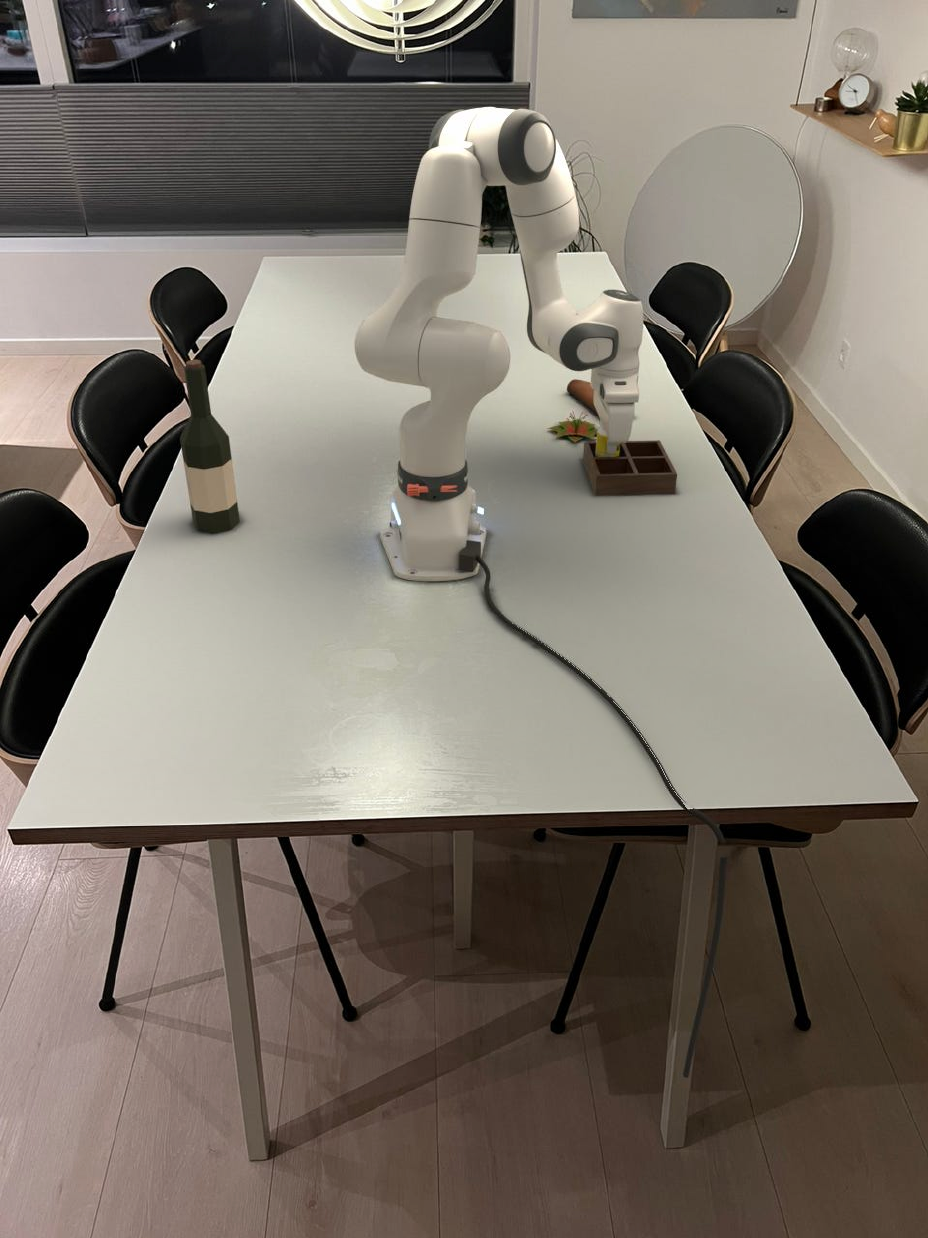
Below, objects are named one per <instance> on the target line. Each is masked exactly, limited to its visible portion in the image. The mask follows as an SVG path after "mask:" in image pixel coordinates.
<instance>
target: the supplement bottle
mask: <svg viewBox="0 0 928 1238" xmlns="http://www.w3.org/2000/svg"><path fill="white" fill-rule="evenodd" d="M597 429H598V431H597V434H596V441H595V442H596V452H595V457H619V452H620V443H618V444H617V448H616V452H615V453H607V450H606V442H607V440H608V436H607V434H606V432H605V429H604V427H603V425H602V421H601V419H600V418H599V427H598V428H597Z"/></svg>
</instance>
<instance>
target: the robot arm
mask: <svg viewBox="0 0 928 1238" xmlns="http://www.w3.org/2000/svg"><path fill="white" fill-rule="evenodd" d="M428 141H429V142H428V150H427V151H426V152H425V153H424V155H423V156H422V158H421V159H420V162H419V166H418V170H417V172H416V178H415V180H414V181H415V182H414V185H413V190H412V196H411V203H410V210H409V218H408V229H407V237H406V246H405V250H404V252H405V253H404V258H403V264H402V268H401V272H400V275H399V278H398V281H397V283H396V285H395V287H394V289H393V291H392V292H391V294H390V295H389V297H388V298H387V299H386V301H385V302H384V303H383V304H382V305H381V306H380V307H378V308H377V309H376V310H375V311H373V312H372V313H371V314H369V315H368V316H366V317H365V318H364V319H363V320H362V322H361V323H360V325H359V327H358V329H357V331H356V333H355V338H354V354H355V358H356V360H357V362H358V365H359V366H360V368H361V370H362V371H364V373H367V374H368V375H371V376H373V377H376V378H379V379H382V380H385V381H387V382H390V383H391V382H392V383H398V384H403V385H411V386H417V387H423V388H425V389H426V388H427V389H429V392H430V399H429V400H427V401H423V402H421V403H418V404H416V405H414V406H412V407H411V408H409V409H408V410H407V411H406V412H405V413H404V414H403V416H402V417H401V419H400V422H399V425H398V429H399V432H398V433H399V461H398V462H397V469H396V475H397V484H398V485H397V486H396V487H395V488H394V489H393V490H392V491H391V492H390V493H389V495H390V496H389V497H390V499H389V501H390V502H389V503H390V521H389V526H387V527H384V528H382V529H381V530H380V534H379V539H380V541H381V542H382V546H383V549H384V551H385V553H386V556H387V559H388V561H389V564H390V567H391V569H392V572H393V574H394V575H395V576H396V577H397V578H400V579H403V580H408V581H414V582H415V581H417V582H449V581H456V580H457V581H458V580H462V579H467V578H470V577H474V576H476V575H477V574H478V573H479V571H480V566H481V568H482V570H483V571H484V573H485V580H484V584H483V585H484V586H483V591H484V597H485V599H486V603H487V604H488V606H489V608H490V609H491V610H492V612H493V614H495V615H496V616H497V617H498V618H499V619H500V620H501V622H503V623H504V624H505V625H506V626H508V627H509V628H511V629H512V630H514V631H515V632H516V633H518V634H520V635H522V636H523V637H525V638H526V639H528V640H529V641H531V642H532V643H533V644H535V645H537V646H538V647H539V648H541V649H542V650H543V651H545V652H546V653H548V654H549V655H551V656H552V657H554V658H555V659H556V660H558V661H559V662H560V663H562V664H564V665H565V666H566V667H567V668H569V669H570V670H572V671H573V672H574V673H575V674H577V676H579V678H582V679H583V680H584V681H585V682H586V683H587V684H589V686H591V687H592V688H593V690H595V691H596V692H597V693H598V694H599V695H600V696H602V698H603V699H605V701H607V703H608V704H609V705H610V706H611V707H612V708H613V709H614V710H615V711H616V713H617V714H618V715H619V716H620V717H621V719H622V720H623V721H624V722H625V723H626V725H627V726H628V727H629V729H630V730H631V731H632V733H633V735H634V736H635V737H636V739H637V740H638V741H639V743H640V744H641V746H642V747H643V749H644V751H645V752H646V754H647V755H648V757H649V759H650V760H651V762H652V763H653V765H654V766H655V768H656V770H657V772H658V774H659V777H660V778H661V781H663V784H664V786H665V787H666V790H667V791H668V792H669V794H670V795H671V797H672V798H673V800H674V801H675V802H676V804H678V805H679V806H680V807H681V808H682V809H683V810H684V811H685V812H686V813H688V814H689V815H692V816H694V817H696V818H697V819H699V820H700V821H702V822H703V823H705V824H706V825H707V826H708V827H709V828H710V829H711V831H712V832H713V834H714V835H715V837H716V839H717V841H718V843H719V844H722V845H723V844H726V839H725V836H724V834H723V832H722V830H721V828H720V827H719V826H718V825H717V823H716V822H715V821H714V820H713V819H712V818H711V817H710V816H709V815H707V814H705V813H703V812H702V811H700V810H698V809H696V808H695V807H693V809H690V810H688V809H687V808H686V807H685V805H684V804H683V802H682V801H681V799H682V800H683V801H684V802H685V803H687V801H685V800H684V799H683V798H682V797H681V795H680V794H679V792H678V791H677V790H676V788H675V787H674V785H673V782H671V780H670V777H669V776H668V774H667V772H666V770H665V768H664V766H663V764H662V763H661V760H660V759H659V758H658V756H657V755H656V753H655V752H654V750H653V749H652V747H651V746H650V744H649V743H648V741H647V739H646V737H645V736H644V735H643V734H642V732H641V731H640V729H639V728H638V727H637V725H636V724H635V723H634V721H633V720H632V719H631V717H630V716H629V715H628V714H627V713H626V711H625V710H624V709H623V708H622V707H621V706H620V705H619V703H617V701H615V699H614V698H613V697H612V696H611V695H610V694H609V693H608V692H607V691H606V690H605V689H604V688H603V687H602V686H601V685H599V683H597V682H596V680H594V679H592V677H590V676H589V675H588V674H586V672H584V671H583V669H580V668H579V667H578V666H577V665H576V664H574V663H573V662H571V661H570V660H569V659H568V658H566V657H565V656H563V655H562V654H561V653H559V652H558V651H556V650H555V649H553V648H552V647H551V646H549V645H547V644H546V643H544V642H543V641H541V640H540V639H539V638H537V637H536V636H534V635H533V634H532V633H530V632H529V631H527V630H525V629H524V628H522V627H520V626H519V625H517V624H516V623H514V622H513V621H511V620H510V619H509V618H507V617H506V616H505V615H504V614H503V613H502V611H500V609H498V607H497V606H496V605H495V602H494V601H493V599H492V595H491V591H490V584H491V578H492V577H491V571H490V568H489V567H488V565H487V563H486V562H485V561H484V560H483V558H482V557H483V553H484V548H485V543H486V540H487V535H488V533H487V529H486V527H484V526H483V525H481V524H480V522H479V521H478V520H476V515H477V514H479V515H480V514H481V515H484V511H485V510H484V508H483V507H480V506H478V505H476V490H474V489H473V487H471V486H470V485H469V467H468V461H467V460H466V447H467V444H466V443H467V433H468V432H467V431H468V424H469V420H470V417H471V415H472V413H473V411H474V409H475V408H476V406H477V404H478V403H480V401H481V400H482V399H484V398H485V396H487V395H488V394H491V393H492V392H494V391H495V390H496V389H498V388H499V387H500V386H501V385H502V383H503V382H504V381H505V379H506V377H507V375H508V373H509V370H510V366H511V351H510V350H511V349H510V346H509V343H508V341H507V339H506V337H505V336H504V334H503V333H502V331H500V330H497V329H494V328H492V327H489V326H487V325H485V324H480V323H478V322H474V321H470V320H469V321H467V320H462V319H461V320H459V319H452V318H444V317H438V316H437V312H438V308H439V307H440V304H441V302H442V301H443V300H444V299H445V298H446V297H448V296H451V295H453V294H456V293H458V292H460V291H462V290H464V289H465V288H467V287H468V286H469V285H470V284H471V282H472V281H473V279H474V278H475V275H476V270H477V261H478V252H479V243H480V234H481V226H482V225H481V223H482V222H481V221H482V214H483V213H482V210H483V209H482V208H483V193H484V192H485V189H486V188H487V186H488V187H501V186H505V191H506V196H507V202H508V207H509V210H510V215H511V219H512V223H513V226H514V230H515V233H516V237H517V241H518V247H519V255H520V262H521V266H522V273H523V276H524V283H525V288H526V293H527V300H528V312H527V319H526V334H527V337H528V340H529V342H530V344H531V345H532V346H533V348H535V349H536V350H538V351H540V352H542V353H544V354H546V355H548V356H549V357H550V358H551V359H553V360H554V361H556V362H557V363H558V364H560V365H562V367H565V368H566V369H568V370H570V371H573V372H584V371H591V372H590V381H589V382H590V385H591V387H592V388H593V389H594V406H595V408H596V410H597V413H598V415H599V416H598V415H597V416H598V417H599V420H600V419H601V421H602V425H603V427H604V429H605V432H606V434H607V436H608V440H607V442H606V450H607V453H615V452H616V448H617V444H618V443H626V442H628V441H630V438H631V434H632V428H633V424H634V423H633V422H634V417H635V408H636V405H635V404H636V403H638V402H639V399H640V389H639V370H640V357H639V350H640V347H641V346H642V341H643V333H644V332H643V331H644V307H643V302H642V301H641V300H640V298H639V297H637V296H636V295H634V294H632V293H630V292H628V291H625V290H621V289H606V290H603V291H602V292H601V293H600V295H599V297H598V298H596V300H594V301H593V302H592V303H591V304H589V305H588V306H586V307H585V308H583V309H580V310H578V309H576V308H575V307H574V306H573V305H571V303H570V302H569V301H568V300H567V299H566V297H565V295H564V293H563V289H562V283H561V277H560V271H559V265H558V256H557V255H558V253H560V252H562V251H564V250H565V249H567V248H568V247H569V246H570V245H571V244H572V243H573V242H574V240H575V238H576V236H577V235H578V233H579V230H580V212H579V205H578V200H577V197H576V191H575V187H574V183H573V179H572V176H571V171H570V169H569V165H568V163H567V160H566V158H565V155H564V152H563V151H562V148H561V147H560V144H559V142H558V140H557V138H556V134H555V132H554V129H553V128H552V125H551V124H550V122H549V120H548V119H547V117H546V116H545V115H543V114H542V113H540V112H538V111H535V110H531V109H527V108H517V109H511V108H500V107H498V108H497V107H494V106H485V107H477V108H470V109H457V110H452V111H451V112H450V111H449V112H448V113H446V114H444V115H442V116H441V117H439V118H438V120H436V123H435V124H434V126H433V127H432V131H431V133H430V137H429V140H428ZM512 623H513V624H512ZM517 626H518V627H519V628H518V627H517ZM520 628H521V629H520ZM522 629H523V630H524V631H523V630H522ZM525 631H526V632H527V633H526V632H525ZM528 633H529V634H530V635H529V634H528ZM531 635H532V636H533V637H532V636H531ZM534 637H535V638H536V639H535V638H534ZM537 639H538V640H539V641H538V640H537ZM541 642H542V643H541ZM544 644H545V645H546V646H545V645H544ZM547 646H548V647H549V648H548V647H547ZM550 648H551V649H552V650H551V649H550ZM553 650H554V651H555V652H554V651H553ZM556 652H557V653H558V654H559V655H558V654H557V653H556ZM560 655H561V656H562V657H561V656H560ZM564 658H565V659H566V660H565V659H564ZM568 661H569V662H570V663H569V662H568ZM572 664H573V665H574V666H575V667H574V666H573V665H572ZM576 667H577V668H578V669H579V670H578V669H577V668H576ZM580 670H581V671H582V672H583V673H584V674H583V673H582V672H581V671H580ZM585 674H586V675H587V676H588V677H589V678H590V679H589V678H588V677H587V676H586V675H585ZM592 680H593V681H594V682H595V683H596V684H597V685H598V686H599V687H600V688H601V689H600V688H599V687H598V686H597V685H596V684H595V683H594V682H593V681H592ZM607 694H608V695H609V696H610V697H609V696H608V695H607ZM613 701H614V702H615V703H616V704H617V705H618V706H619V707H620V708H621V709H620V708H619V707H618V706H617V705H616V704H615V703H614V702H613ZM621 710H622V711H623V712H624V713H625V714H626V715H625V714H624V713H623V712H622V711H621ZM626 716H627V717H628V718H629V719H630V720H629V719H628V718H627V717H626ZM630 721H631V722H632V723H633V724H634V726H635V727H636V728H637V730H638V731H639V732H638V731H637V730H636V728H635V727H634V726H633V724H632V723H631V722H630ZM639 733H640V734H641V735H642V737H643V738H644V740H645V741H646V743H647V744H646V743H645V741H644V740H643V738H642V737H641V735H640V734H639ZM647 745H648V746H649V747H648V746H647ZM649 748H650V749H651V751H652V752H653V754H654V755H655V757H656V758H655V757H654V755H653V754H652V752H651V751H650V749H649ZM656 759H657V760H658V762H659V763H658V762H657V760H656ZM659 764H660V765H661V767H662V769H663V771H664V773H665V775H666V777H667V779H668V780H667V779H666V777H665V775H664V773H663V771H662V769H661V767H660V765H659ZM668 781H669V782H668ZM669 783H670V784H671V786H672V787H671V786H670V784H669ZM672 788H673V789H674V790H673V789H672ZM674 791H675V792H676V793H677V795H678V796H679V797H680V798H681V799H680V798H679V797H678V796H677V795H676V793H675V792H674ZM718 865H719V866H718V878H717V896H716V908H715V916H714V923H713V930H712V937H711V941H710V948H709V953H708V959H707V964H706V968H705V972H704V977H703V981H702V986H701V990H700V994H699V999H698V1003H697V1008H696V1011H695V1015H694V1021H693V1025H692V1029H691V1034H690V1037H689V1042H688V1047H687V1052H686V1056H685V1062H684V1067H683V1072H682V1075H683V1078H685V1079H686V1078H689V1076H690V1073H691V1067H692V1062H693V1057H694V1052H695V1049H696V1048H695V1047H696V1044H697V1039H698V1034H699V1030H700V1025H701V1022H702V1018H703V1013H704V1010H705V1005H706V1001H707V998H708V997H707V996H708V993H709V987H710V984H711V979H712V975H713V971H714V965H715V961H716V956H717V952H718V946H719V940H720V935H721V928H722V921H723V914H724V905H725V896H726V895H725V892H726V874H727V865H728V857H727V856H724V857H722V856H721V857H719V864H718Z"/></svg>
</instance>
